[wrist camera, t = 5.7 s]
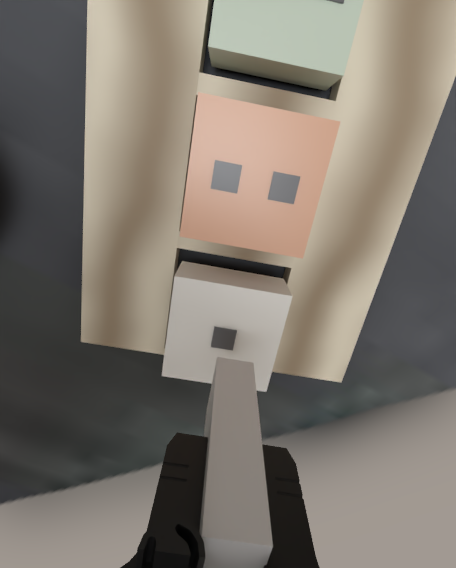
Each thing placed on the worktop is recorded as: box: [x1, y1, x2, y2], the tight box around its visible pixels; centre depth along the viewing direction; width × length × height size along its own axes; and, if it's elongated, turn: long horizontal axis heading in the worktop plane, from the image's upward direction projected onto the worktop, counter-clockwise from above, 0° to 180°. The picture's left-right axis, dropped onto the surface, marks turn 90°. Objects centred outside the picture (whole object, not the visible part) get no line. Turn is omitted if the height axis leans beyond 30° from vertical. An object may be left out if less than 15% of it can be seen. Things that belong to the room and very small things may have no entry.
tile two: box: [180, 92, 340, 259], centre depth 15 cm, size 6×6×3 cm
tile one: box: [162, 261, 293, 392], centre depth 18 cm, size 6×6×3 cm
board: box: [81, 0, 456, 382], centre depth 18 cm, size 18×24×2 cm
